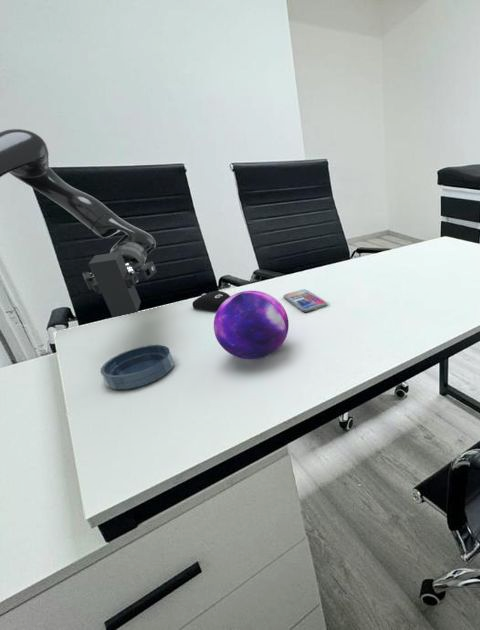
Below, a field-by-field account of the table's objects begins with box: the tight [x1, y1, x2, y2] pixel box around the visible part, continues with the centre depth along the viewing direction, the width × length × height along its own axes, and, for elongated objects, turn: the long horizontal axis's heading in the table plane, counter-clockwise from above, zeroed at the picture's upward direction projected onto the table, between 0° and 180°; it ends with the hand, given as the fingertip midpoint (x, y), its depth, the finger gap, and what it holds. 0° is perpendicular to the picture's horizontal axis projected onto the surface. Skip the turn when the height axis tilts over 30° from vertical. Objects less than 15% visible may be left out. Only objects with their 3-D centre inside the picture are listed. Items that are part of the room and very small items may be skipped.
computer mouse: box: [191, 290, 232, 312], centre depth 112 cm, size 8×12×4 cm, turn 70°
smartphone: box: [283, 288, 328, 313], centre depth 113 cm, size 7×1×15 cm
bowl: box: [100, 344, 175, 390], centre depth 82 cm, size 12×12×4 cm
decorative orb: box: [213, 290, 290, 360], centre depth 84 cm, size 15×15×15 cm
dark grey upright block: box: [88, 252, 142, 318], centre depth 82 cm, size 4×6×12 cm
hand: (113, 286), depth 80 cm, fingers closed on dark grey upright block, 4 cm apart
